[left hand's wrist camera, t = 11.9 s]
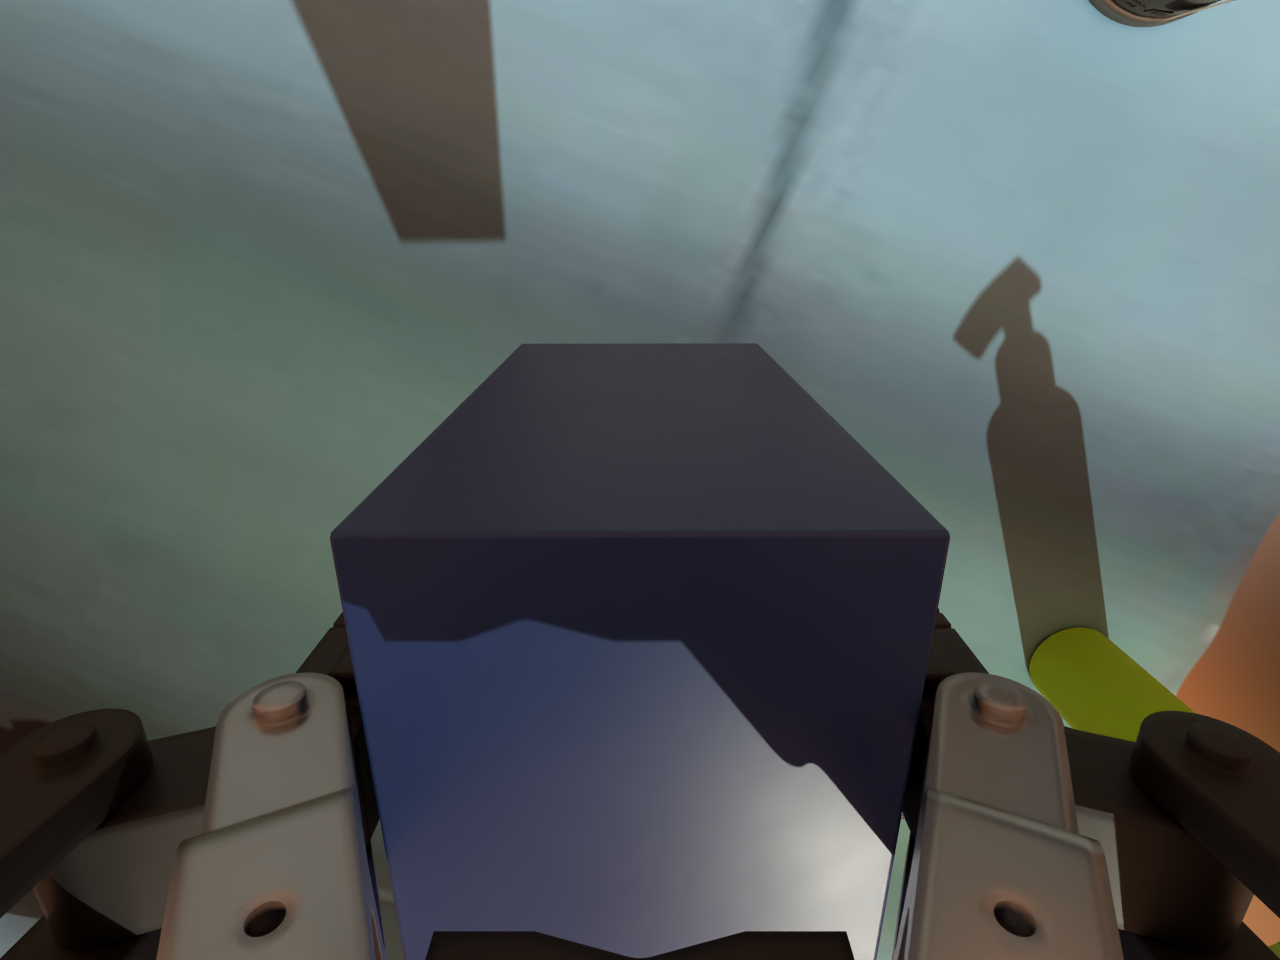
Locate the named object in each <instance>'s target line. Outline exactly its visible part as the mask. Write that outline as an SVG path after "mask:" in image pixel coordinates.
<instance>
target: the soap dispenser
mask: <svg viewBox="0 0 1280 960" xmlns="http://www.w3.org/2000/svg"><path fill="white" fill-rule="evenodd" d="M1029 674H1030V678H1031V681H1032V683H1033V684H1034V686H1035V687H1036V688H1037V689H1038V690H1039V691H1040V692H1041V694H1042V695H1043V696H1044V697H1045V698H1046V699H1047V700H1048V701H1049V702H1050V703H1051V704H1052V705H1053V706H1054V707H1055V709H1056V710H1057V711H1058V713H1059V714H1060V715H1061V716H1062V717H1063V718H1064V720H1065V721H1066V722H1067V723H1068V724H1069V725H1070V726H1071V727H1072V729H1076V730H1080V731H1085V732H1090V733H1095V734H1099V735H1104V736H1109V737H1114V738H1119V739H1123V740H1128V741H1133V742H1135V741H1136V738H1137V735H1138V732H1139V729H1140V726H1141V723H1142V721H1143V720H1144V718H1146V717H1147V716H1148V715H1150V714H1153V713H1155V712H1160V711H1184V712H1190V713H1195V712H1193V711H1192V710H1191V709H1190V708H1189V707H1188V706H1186V705H1185V704H1184V703H1183V702H1182V701H1181V700H1179V699H1178V698H1177V697H1176V696H1175V695H1174V694H1172V693H1171V692H1170V691H1169V690H1168V689H1167V688H1165V687H1164V686H1163V685H1162V684H1161V683H1159V682H1158V681H1157V680H1156V679H1155V678H1154V677H1152V676H1151V675H1150V674H1149V673H1148V672H1147V671H1145V670H1144V669H1143V668H1142V667H1141V666H1140V665H1138V664H1137V663H1136V662H1135V661H1134V660H1133V659H1131V658H1130V657H1129V656H1128V655H1127V654H1126V653H1124V652H1123V651H1122V650H1121V649H1120V648H1119V647H1117V646H1116V645H1115V644H1114V643H1113V642H1111V641H1110V640H1109V639H1108V638H1107V637H1106V636H1104V635H1103V634H1102V633H1100V632H1098V631H1096V630H1093V629H1090V628H1083V627H1077V628H1070V629H1066V630H1063V631H1060V632H1058V633H1056V634H1054V635H1052V636H1050V637H1049V638H1047V639H1046V640H1045V641H1044V642H1043V643H1042V644H1041V645H1040V646H1039V647H1038V648H1037V649H1036V651H1035V652H1034V654H1033V656H1032V658H1031V661H1030V666H1029ZM1269 948H1270V949H1271V950H1272V951H1273V952H1274V953H1275V954H1276V955H1277V956H1278V957H1279V958H1280V942H1278V943H1276V944H1274V945H1271V946H1269Z"/></svg>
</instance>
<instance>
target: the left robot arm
mask: <svg viewBox="0 0 1280 960" xmlns="http://www.w3.org/2000/svg"><path fill="white" fill-rule="evenodd" d="M1218 1H1221V0H1089V2H1090V3H1091V4H1092V5H1093V6H1094V7H1095V8H1096V9H1097V10H1098V11H1099V12H1101V13H1102V14H1103V15H1104V16H1106V17H1108V18H1109V19H1111V20H1113V21H1116V22H1118V23H1121V24H1124V25H1128V26H1134V27H1152V26H1158V25H1163V24H1167V23H1170V22H1173V21H1176V20H1178V19H1181V18H1183V17H1186V16H1188V15H1191V14H1193V13H1196V12H1198V11H1201V10H1204V9H1207V8H1211V7H1214V6H1218V5H1221V4H1224V3H1228V2H1231V1H1235V0H1229V1H1225V2H1222V3H1218V4H1215V5H1212V6H1209V5H1211V4H1213V3H1216V2H1218ZM1207 6H1208V7H1207ZM379 819H380V818H379V812H378V806H377V801H376V795H375V789H374V784H373V778H372V772H371V767H370V761H369V756H368V750H367V744H366V739H365V733H364V727H363V722H362V716H361V710H360V705H359V699H358V693H357V688H356V682H355V676H354V671H353V665H352V660H351V654H350V648H349V643H348V637H347V631H346V626H345V620H344V614H343V612H342V613H341V615H340V616H339V617H338V619H337V620H336V621H335V622H334V626H333V628H330V629H329V630H328V632H327V633H326V634H325V636H324V637H323V638H322V639H321V641H320V642H319V643H318V645H317V646H316V647H315V649H314V650H313V651H312V652H311V654H310V655H309V656H308V658H307V659H306V660H305V662H304V663H303V664H302V665H301V667H300V668H299V669H298V671H297V672H296V673H294V674H288V675H283V676H280V677H276V678H273V679H270V680H267V681H265V682H262V683H260V684H258V685H256V686H253V687H251V688H250V689H248V690H246V691H245V692H243V693H242V694H240V695H239V696H237V697H236V698H235V699H233V700H232V701H231V702H230V703H229V704H228V705H227V706H226V707H225V709H224V710H223V711H222V713H221V714H220V716H219V718H218V721H217V724H216V727H212V728H208V729H203V730H198V731H193V732H189V733H184V734H179V735H174V736H170V737H165V738H160V739H155V740H150V741H148V740H147V737H146V734H145V731H144V728H143V725H142V722H141V720H140V718H139V716H137V715H136V714H135V713H133V712H130V711H128V710H123V709H98V710H92V711H87V712H83V713H79V714H75V715H72V716H69V717H65V718H62V719H60V720H57V721H55V722H52V723H50V724H47V725H45V726H43V727H41V728H39V729H37V730H35V731H33V732H31V733H30V734H28V735H26V736H24V737H23V738H21V739H20V740H18V741H16V742H15V743H13V744H12V745H11V746H9V747H8V748H6V749H5V750H4V751H2V752H1V753H0V918H1V917H2V916H3V915H4V914H5V913H6V912H7V911H9V910H10V909H11V908H12V907H13V906H14V905H15V904H16V903H17V902H18V901H19V900H20V899H21V898H22V897H23V896H25V895H26V894H27V893H28V892H29V891H30V890H31V889H33V891H34V893H35V896H36V898H37V900H38V903H39V905H40V907H41V910H42V912H43V914H44V916H43V917H42V918H41V919H40V920H39V921H38V922H37V923H36V924H35V925H34V926H33V927H32V928H31V929H30V930H29V931H28V932H27V933H26V934H24V935H23V936H22V937H21V938H20V939H19V940H18V941H17V942H16V943H15V944H14V945H13V946H12V947H11V948H10V949H9V950H8V951H7V952H6V953H5V954H4V955H3V956H2V957H1V958H0V960H388V954H387V946H386V939H385V932H384V925H383V918H382V910H381V903H380V896H379V889H378V881H377V874H376V867H375V860H374V853H373V848H372V842H371V837H372V835H373V833H374V830H375V828H376V826H377V824H378V821H379ZM901 819H905V820H906V822H907V825H908V827H909V829H910V837H909V842H908V848H907V853H906V860H905V867H904V874H903V881H902V889H901V896H900V903H899V910H898V917H897V925H896V932H895V939H894V946H893V954H892V960H1280V958H1279V957H1278V956H1277V955H1276V954H1275V953H1274V952H1273V951H1272V950H1271V949H1270V948H1269V947H1268V946H1267V945H1266V944H1265V943H1263V941H1262V940H1261V939H1260V938H1259V937H1257V935H1256V934H1254V933H1253V932H1252V931H1251V930H1250V929H1249V928H1248V927H1247V926H1246V925H1245V924H1244V923H1243V922H1242V920H1243V918H1244V916H1245V913H1246V911H1247V909H1248V907H1249V904H1250V902H1251V900H1252V898H1253V895H1256V896H1257V897H1258V898H1259V899H1260V900H1261V901H1262V902H1263V903H1264V904H1265V905H1266V906H1267V907H1268V908H1269V909H1270V910H1272V911H1273V912H1274V913H1275V914H1276V915H1277V916H1278V917H1279V918H1280V753H1279V752H1278V751H1276V750H1275V749H1274V748H1272V747H1271V746H1269V745H1268V744H1266V743H1265V742H1263V741H1262V740H1260V739H1259V738H1257V737H1255V736H1253V735H1251V734H1249V733H1248V732H1246V731H1244V730H1242V729H1239V728H1237V727H1235V726H1233V725H1230V724H1228V723H1225V722H1223V721H1220V720H1217V719H1214V718H1211V717H1208V716H1204V715H1200V714H1196V713H1190V712H1184V711H1160V712H1155V713H1153V714H1150V715H1148V716H1147V717H1146V718H1144V720H1143V721H1142V723H1141V726H1140V729H1139V732H1138V735H1137V738H1136V741H1135V742H1133V741H1128V740H1123V739H1119V738H1114V737H1109V736H1104V735H1099V734H1095V733H1090V732H1085V731H1080V730H1076V729H1072V728H1068V727H1065V726H1064V724H1063V721H1062V718H1061V716H1060V714H1059V713H1058V711H1057V710H1056V709H1055V707H1054V706H1053V705H1052V704H1051V703H1050V702H1049V701H1048V700H1046V699H1045V698H1044V697H1043V696H1041V695H1040V694H1038V693H1037V692H1035V691H1034V690H1032V689H1030V688H1029V687H1027V686H1024V685H1022V684H1020V683H1018V682H1015V681H1013V680H1010V679H1007V678H1004V677H1000V676H997V675H992V674H989V673H988V672H987V670H986V669H985V668H984V666H983V665H982V664H981V663H980V661H979V660H978V659H977V657H976V656H975V655H974V654H973V652H972V651H971V650H970V648H969V647H968V646H967V645H966V643H965V642H964V641H963V639H962V638H961V637H960V636H959V634H958V633H957V632H956V630H955V629H951V624H950V623H949V621H948V620H947V619H946V618H945V616H944V615H943V614H942V613H939V609H937V615H936V621H935V626H934V632H933V638H932V644H931V649H930V655H929V661H928V666H927V672H926V678H925V684H924V689H923V695H922V701H921V706H920V712H919V718H918V724H917V729H916V735H915V741H914V746H913V752H912V758H911V764H910V769H909V775H908V781H907V786H906V792H905V798H904V803H903V809H902V815H901ZM425 960H855V959H854V955H853V952H852V949H851V945H850V942H849V938H848V935H847V932H846V931H744V932H740V933H737V934H733V935H729V936H726V937H722V938H718V939H715V940H711V941H707V942H704V943H700V944H696V945H693V946H689V947H685V948H682V949H678V950H674V951H671V952H667V953H663V954H660V955H656V956H652V957H647V958H633V957H628V956H624V955H620V954H617V953H613V952H609V951H606V950H602V949H598V948H595V947H591V946H587V945H584V944H580V943H576V942H573V941H569V940H565V939H562V938H558V937H554V936H551V935H547V934H543V933H540V932H536V931H434V932H433V935H432V938H431V942H430V945H429V949H428V952H427V955H426V959H425Z"/></svg>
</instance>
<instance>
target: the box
mask: <svg viewBox="0 0 1280 960" xmlns="http://www.w3.org/2000/svg"><path fill="white" fill-rule="evenodd" d="M330 541H331V547H332V552H333V558H334V564H335V569H336V575H337V581H338V586H339V592H340V597H341V603H342V609H343V614H344V620H345V626H346V631H347V637H348V643H349V648H350V654H351V660H352V665H353V671H354V676H355V682H356V688H357V693H358V699H359V705H360V710H361V716H362V722H363V727H364V733H365V739H366V744H367V750H368V756H369V761H370V767H371V772H372V778H373V784H374V789H375V795H376V801H377V806H378V812H379V818H380V823H381V829H382V835H383V840H384V846H385V851H386V857H387V863H388V868H389V874H390V880H391V885H392V891H393V897H394V902H395V908H396V914H397V919H398V925H399V930H400V936H401V942H402V947H403V953H404V959H405V960H425V959H426V955H427V952H428V949H429V945H430V942H431V938H432V935H433V932H434V931H536V932H540V933H543V934H547V935H551V936H554V937H558V938H562V939H565V940H569V941H573V942H576V943H580V944H584V945H587V946H591V947H595V948H598V949H602V950H606V951H609V952H613V953H617V954H620V955H624V956H628V957H633V958H647V957H652V956H656V955H660V954H663V953H667V952H671V951H674V950H678V949H682V948H685V947H689V946H693V945H696V944H700V943H704V942H707V941H711V940H715V939H718V938H722V937H726V936H729V935H733V934H737V933H740V932H744V931H846V932H847V935H848V938H849V942H850V945H851V949H852V952H853V955H854V959H855V960H876V958H877V952H878V946H879V941H880V935H881V929H882V923H883V918H884V912H885V906H886V901H887V895H888V889H889V883H890V878H891V872H892V866H893V861H894V855H895V849H896V843H897V838H898V832H899V826H900V821H901V815H902V809H903V803H904V798H905V792H906V786H907V781H908V775H909V769H910V764H911V758H912V752H913V746H914V741H915V735H916V729H917V724H918V718H919V712H920V706H921V701H922V695H923V689H924V684H925V678H926V672H927V666H928V661H929V655H930V649H931V644H932V638H933V632H934V626H935V621H936V615H937V609H938V604H939V598H940V592H941V586H942V581H943V575H944V569H945V564H946V558H947V552H948V546H949V541H950V535H949V531H948V530H947V529H946V528H945V527H944V526H943V525H941V524H940V523H939V522H938V521H937V520H936V519H935V518H934V517H933V516H932V515H931V514H930V513H929V512H928V511H927V510H926V509H925V508H924V507H923V506H922V505H921V504H920V503H919V502H918V501H917V500H916V499H915V498H914V497H913V496H912V495H911V494H910V493H909V492H908V491H907V490H906V489H905V488H904V487H903V486H902V485H901V484H900V483H899V482H898V481H897V480H896V479H895V478H894V477H893V476H892V475H891V474H890V473H889V472H888V471H887V470H886V469H884V468H883V467H882V466H881V465H880V464H879V463H878V462H877V461H876V460H875V459H874V458H873V457H872V456H871V455H870V454H869V453H868V452H867V451H866V450H865V449H864V448H863V447H862V446H861V445H860V444H859V443H858V442H857V441H856V440H855V439H854V438H853V437H852V436H851V435H850V434H849V433H848V432H847V431H846V430H845V429H844V428H843V427H842V426H841V425H840V424H839V423H838V422H837V421H836V420H835V419H834V418H833V417H832V416H831V415H830V414H828V413H827V412H826V411H825V410H824V409H823V408H822V407H821V406H820V405H819V404H818V403H817V402H816V401H815V400H814V399H813V398H812V397H811V396H810V395H809V394H808V393H807V392H806V391H805V390H804V389H803V388H802V387H801V386H800V385H799V384H798V383H797V382H796V381H795V380H794V379H793V378H792V377H791V376H790V375H789V374H788V373H787V372H786V371H785V370H784V369H783V368H782V367H781V366H780V365H779V364H778V363H777V362H776V361H775V360H774V359H773V358H771V357H770V356H769V355H768V354H767V353H766V352H765V351H764V350H763V349H762V348H761V347H760V346H759V345H758V344H522V345H520V346H519V347H518V348H517V349H516V350H515V351H514V352H513V353H512V354H511V355H510V356H509V357H508V358H507V359H506V360H505V361H504V362H503V363H502V364H501V365H500V366H499V367H498V368H497V369H496V370H495V371H494V372H493V373H492V374H491V375H490V376H489V377H488V378H487V379H486V380H485V381H484V382H483V383H482V384H481V385H480V386H479V387H478V388H477V389H476V390H475V391H474V392H473V393H472V394H471V395H470V396H469V397H468V398H467V399H466V400H465V401H464V402H463V403H462V404H461V405H460V406H459V407H458V408H457V409H456V410H455V411H454V412H453V413H452V414H451V415H450V416H449V417H448V418H447V419H446V420H445V421H443V422H442V423H441V424H440V425H439V426H438V427H437V428H436V429H435V430H434V431H433V432H432V433H431V434H430V435H429V436H428V437H427V438H426V439H425V440H424V441H423V442H422V443H421V444H420V445H419V446H418V447H417V448H416V449H415V450H414V451H413V452H412V453H411V454H410V455H409V456H408V457H407V458H406V459H405V460H404V461H403V462H402V463H401V464H400V465H399V466H398V467H397V468H396V469H395V470H394V471H393V472H392V473H391V474H390V475H389V476H388V477H387V478H386V479H385V480H384V481H383V482H382V483H381V484H380V485H379V486H378V487H377V488H376V489H375V490H374V491H373V492H372V493H371V494H370V495H369V496H368V497H367V498H366V499H365V500H364V501H363V502H362V503H360V504H359V505H358V506H357V507H356V508H355V509H354V510H353V511H352V512H351V513H350V514H349V515H348V516H347V517H346V518H345V519H344V520H343V521H342V522H341V523H340V524H339V525H338V526H337V527H336V528H335V529H334V530H333V531H332V532H331V536H330Z"/></svg>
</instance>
